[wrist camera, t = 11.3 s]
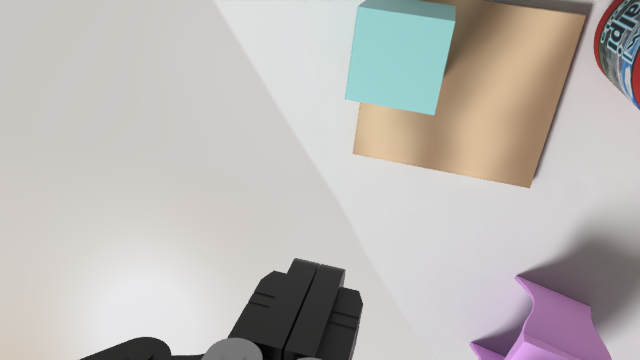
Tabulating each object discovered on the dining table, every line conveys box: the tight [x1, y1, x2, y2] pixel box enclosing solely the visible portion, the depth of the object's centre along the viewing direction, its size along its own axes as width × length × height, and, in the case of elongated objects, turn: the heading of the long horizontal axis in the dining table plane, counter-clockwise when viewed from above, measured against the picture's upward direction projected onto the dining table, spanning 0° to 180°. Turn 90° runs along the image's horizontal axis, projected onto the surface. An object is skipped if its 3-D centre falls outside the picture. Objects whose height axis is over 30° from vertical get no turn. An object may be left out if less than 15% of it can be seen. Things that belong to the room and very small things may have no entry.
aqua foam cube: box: [345, 0, 456, 115], centre depth 31 cm, size 5×5×7 cm
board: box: [353, 0, 586, 188], centre depth 36 cm, size 13×12×1 cm
